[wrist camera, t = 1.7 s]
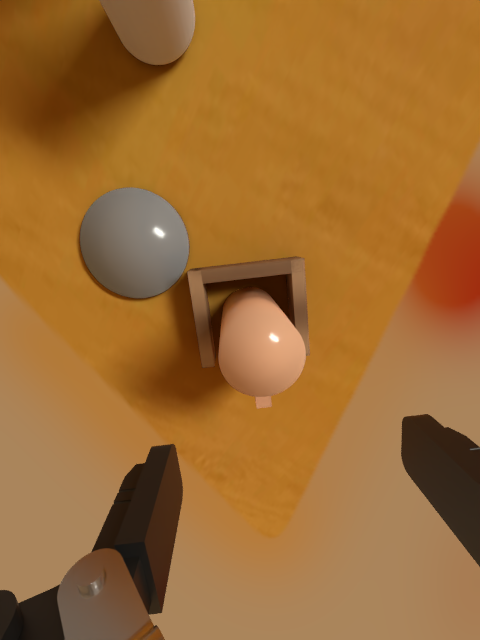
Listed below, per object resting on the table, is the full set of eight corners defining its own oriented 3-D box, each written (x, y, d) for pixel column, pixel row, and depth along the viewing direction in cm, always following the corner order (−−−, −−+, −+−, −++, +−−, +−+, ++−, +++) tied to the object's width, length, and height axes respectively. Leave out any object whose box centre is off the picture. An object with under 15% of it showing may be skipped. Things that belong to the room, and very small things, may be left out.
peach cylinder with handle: (218, 290, 30) (212, 320, 19) (274, 283, 30) (302, 309, 19) (229, 368, 32) (229, 439, 21) (281, 362, 32) (310, 429, 21)
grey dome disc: (71, 195, 28) (67, 194, 27) (180, 182, 28) (179, 181, 27) (96, 302, 30) (93, 303, 30) (196, 290, 30) (196, 291, 30)
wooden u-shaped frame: (191, 269, 30) (187, 271, 27) (296, 256, 30) (304, 258, 27) (204, 356, 32) (202, 368, 29) (302, 345, 32) (309, 355, 29)
